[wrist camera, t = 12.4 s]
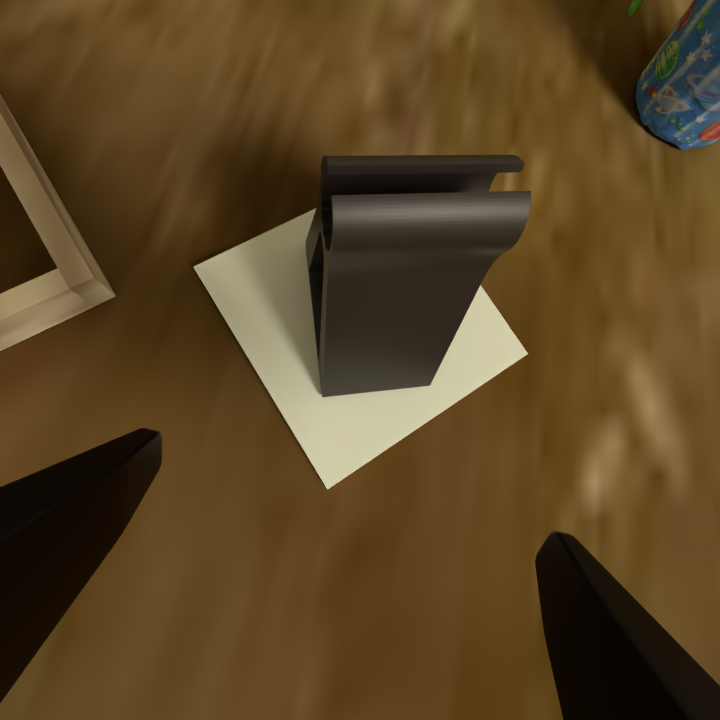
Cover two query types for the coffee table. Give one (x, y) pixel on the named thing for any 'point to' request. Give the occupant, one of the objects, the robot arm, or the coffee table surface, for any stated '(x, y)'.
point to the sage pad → (300, 362)
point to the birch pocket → (60, 236)
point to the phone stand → (402, 261)
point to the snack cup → (684, 79)
